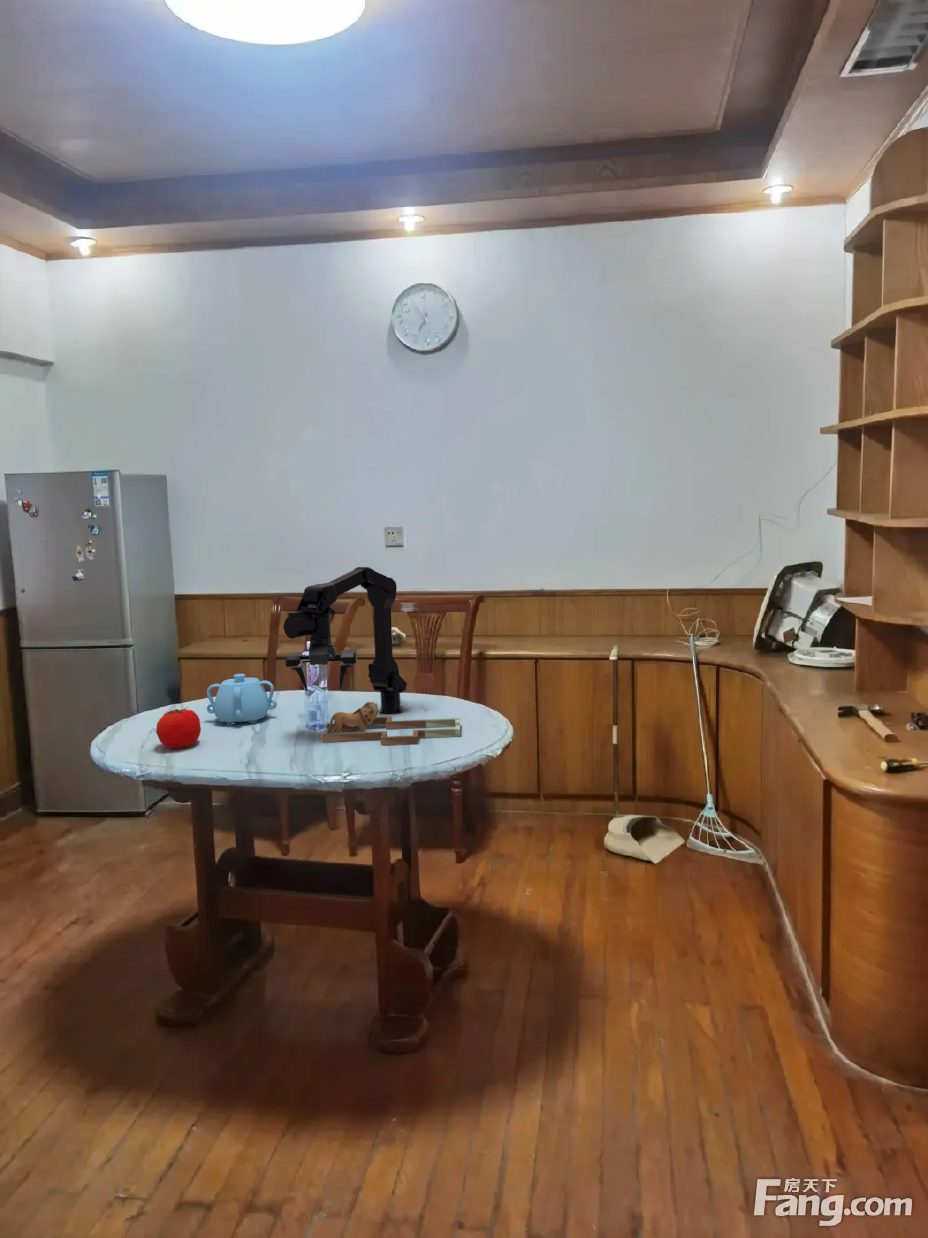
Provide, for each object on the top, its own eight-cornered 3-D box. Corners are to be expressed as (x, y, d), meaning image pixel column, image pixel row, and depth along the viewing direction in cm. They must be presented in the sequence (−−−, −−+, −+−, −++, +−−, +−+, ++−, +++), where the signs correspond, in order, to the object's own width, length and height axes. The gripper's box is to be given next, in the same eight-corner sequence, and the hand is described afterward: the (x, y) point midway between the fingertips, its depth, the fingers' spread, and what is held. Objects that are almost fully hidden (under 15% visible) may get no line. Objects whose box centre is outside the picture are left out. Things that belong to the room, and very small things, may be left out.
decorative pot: (252, 710, 283) (248, 666, 281) (282, 718, 272) (278, 672, 270) (203, 722, 272) (199, 676, 270) (233, 730, 260) (229, 682, 258)
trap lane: (330, 725, 261) (330, 719, 260) (459, 720, 261) (459, 713, 261) (319, 748, 239) (318, 740, 239) (460, 742, 239) (460, 734, 239)
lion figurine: (378, 731, 253) (376, 698, 252) (380, 736, 248) (378, 703, 247) (323, 736, 251) (321, 703, 249) (324, 741, 246) (322, 708, 244)
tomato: (213, 742, 249) (210, 704, 248) (176, 755, 239) (173, 716, 237) (183, 737, 255) (180, 701, 254) (146, 750, 244) (142, 712, 243)
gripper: (280, 639, 242) (284, 698, 244) (352, 636, 242) (356, 694, 245) (286, 632, 253) (290, 688, 255) (355, 629, 253) (359, 685, 256)
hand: (323, 689), depth 252 cm, fingers open, 9 cm apart
